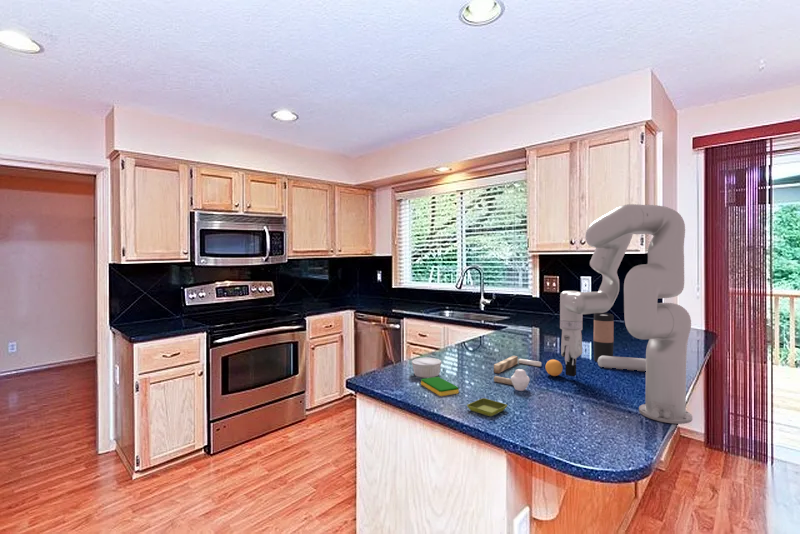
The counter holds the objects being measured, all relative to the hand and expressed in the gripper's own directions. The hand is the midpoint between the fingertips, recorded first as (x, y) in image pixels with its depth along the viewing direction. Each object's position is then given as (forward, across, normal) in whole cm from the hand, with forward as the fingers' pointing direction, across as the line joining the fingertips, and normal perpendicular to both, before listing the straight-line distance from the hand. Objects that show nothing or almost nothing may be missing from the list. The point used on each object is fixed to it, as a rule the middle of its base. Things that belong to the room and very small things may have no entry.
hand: (570, 375), depth 150 cm
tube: (+2, +28, -15) cm, 32 cm away
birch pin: (+1, -19, +12) cm, 22 cm away
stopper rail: (+2, 0, +25) cm, 25 cm away
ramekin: (+2, -27, +45) cm, 53 cm away
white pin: (+1, +10, +15) cm, 18 cm away
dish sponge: (+2, -38, +32) cm, 50 cm away
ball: (-2, +1, +6) cm, 7 cm away
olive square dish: (+2, -46, +10) cm, 47 cm away
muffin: (+2, -22, +10) cm, 24 cm away
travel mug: (+2, +35, -3) cm, 35 cm away
